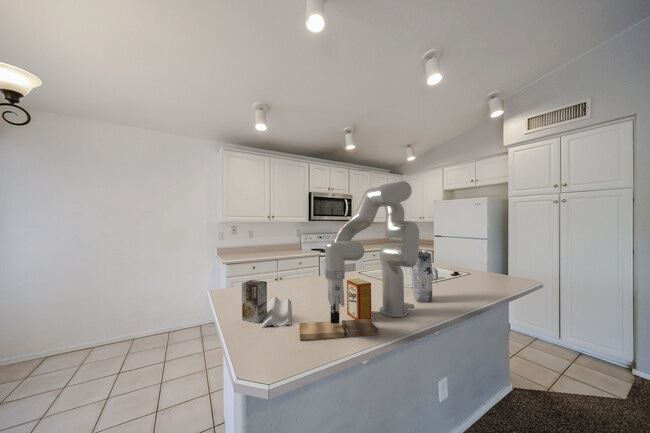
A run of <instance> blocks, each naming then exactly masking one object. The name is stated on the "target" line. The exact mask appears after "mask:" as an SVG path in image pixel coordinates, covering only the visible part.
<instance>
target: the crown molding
mask: <svg viewBox="0 0 650 433" xmlns="http://www.w3.org/2000/svg"><path fill="white" fill-rule="evenodd" d="M291 304H292V303H291V300H290V299H289V298H286V299H285V300H280V299H279V298H278V297H277V296H273V297H272V298H271V299H270V300H269V301H267V316H266V317H265V319H264V320H262V324H261V328H262V329H264V328H266V327H267V326H271V325H272V326H274V327H286V326H291V325H292V317H291V316H292V313H291V311H292V309H291Z"/></svg>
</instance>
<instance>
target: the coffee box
mask: <svg viewBox="0 0 650 433" xmlns="http://www.w3.org/2000/svg"><path fill="white" fill-rule="evenodd" d="M267 286H268V283H267V281H264V280H254V279H250V280H248V281H245V282H242V283H241V310H242V311H241V314H242V315H241V317H242V318H241V319H242V320H243V321H246V322H251V323H257V324H259V323H260V322H263V320H264V319H265V317H266V316H267V304H268V300H267V299H268V296H267V294H268V291H267V290H268V289H267Z"/></svg>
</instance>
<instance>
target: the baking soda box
mask: <svg viewBox="0 0 650 433" xmlns="http://www.w3.org/2000/svg"><path fill="white" fill-rule="evenodd" d="M346 299H347V300H346V302H347V304H346V305H347V307H346V308H347V309H346V310H347V315H348V316H349V317H351V318H352V319H353V320H359V319H370V320H372V316H373V315H372V283H371V282H369V281H366V280H364V279H362V278H352V279H347V280H346Z"/></svg>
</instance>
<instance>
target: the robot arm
mask: <svg viewBox="0 0 650 433" xmlns="http://www.w3.org/2000/svg"><path fill="white" fill-rule="evenodd" d="M412 191H413V190H412V185H410V183H409V182H408V181H405V180H400V181H396V182H395V181H394V182H389V183H384V184H381V185H380V186H377V187H371V188H369V189H366V191H364V193H363V195H362V196H361V199H360V202H359V204H358V206H357V208H356V210H355V213H354V215H353V216H352V218H350V219H349V220H348V221H347V223H345V224H344V226H342V228H341V229H340V230H339V232H338V233H337V234H336V238H335V239H334V241H333V242H327V243H326V244H325V247H324V251H325V254H324V255H325V257H324V258H325V259H324V260H325V261H324V262H325V265H324V267H325V268H324V269H325V270H324V272H325V274H324V276H325V277H324V279H325V280H327V299H328V302H329V304H330V321H331V323H332V324H335V323H339V322H340V306H341V307H343V308H344V307H345V288H344V287H345V286H344V280H345V278H346V277H345V274H346V273H345V270H346V269H345V268H346V265H345V264H346V262H345V261H354V262H355V261H359V260H361V259H362V258H363V256H364V255H365V248H364V246H363V245H362V244H361V243H360V242H358V241H352V239H353V238H354V237H355V236H356V235H357V234H358V233H360V232H362V231H363V230H366V229H368V228H370V227H371V226H372V225H373V224H374V221H375V217H376V216H377V214H378V211H379V209H380V207H383V208H384V209H385V223H384V237H385V239H386V240H388V241H389V242H397V243H398V242H400V243H402V244H395V243H394V244H393V243H389V244H384V245H383V246H382V247H381V248H380V250H379V259H380V263H381V273H382V274H381V275H382V277H381V279H382V306H381V307H379V313H380V314H381V315H383V316H385V317H389V318H404V317H406V316H408V314H409V312H408V310H409V309H415V304H414V303H409V302H405V289H404V287H405V285H404V280H405V279H404V271H403V269H402V267H403V268H412V267H413V266H415V265H416V263H417V260H418V251H419V249H420V229H419V226H418V225H417V223H415V222H414V221H411V220H405V208H404V207H403V205H402V204H401V202H404V201H406V200H407V201H408V200H409V198H411V196H412Z"/></svg>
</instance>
